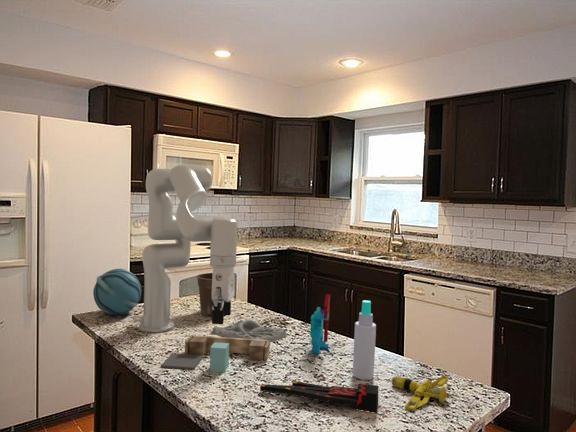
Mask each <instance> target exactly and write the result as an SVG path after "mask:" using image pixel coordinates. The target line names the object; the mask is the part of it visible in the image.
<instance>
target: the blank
mask: <svg viewBox="0 0 576 432" xmlns="http://www.w3.org/2000/svg"><path fill="white" fill-rule="evenodd" d="M209 352H210V354H209V355H210V357H209V359H210V360H209V372H215V373H216V372H218V373H227V372H226V371H227V369H228V367H229V361H230V360H229V359H230V358H229V357H230V355H229V354H230V352H229V343H217V342H214V343H213V345H212V346H211V350H210V351H209Z"/></svg>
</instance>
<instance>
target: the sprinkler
mask: <svg viewBox="0 0 576 432" xmlns="http://www.w3.org/2000/svg"><path fill="white" fill-rule="evenodd" d="M448 379H449V378H448V377H447V376H446V375H441V377H439V378H438V379H436V380H434V381H432V380H430V379H427V380H424V381H423V382H422V383H421V384H419V383H418V382H416V381H414V380H412V379H411V378H407V377H401V376H393V377H392V378H391V385H393V386H395V388H397V389H400V390H401V389H402V390H404V391H407V392H414V393H413V395H411V396H410V399H409V400H408V401H407V403H406V404H405V405H404V409H406V410H408V411H411V412H414V411H416V410H417V409H418V408H420V407H422V406H424V405H426V404H427V403H428V402H429V401H430V400H429V399H430V398H434V399H436V400H439V403H445V401H446V400H447V398H448V394H447V389H446V386H444V385H446V384H447V383H448V381H449V380H448ZM440 387H441V388H440ZM422 397H423V399H422V400H421V398H422ZM412 402H413V403H415V404H414V406H412V405H411V403H412Z"/></svg>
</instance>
